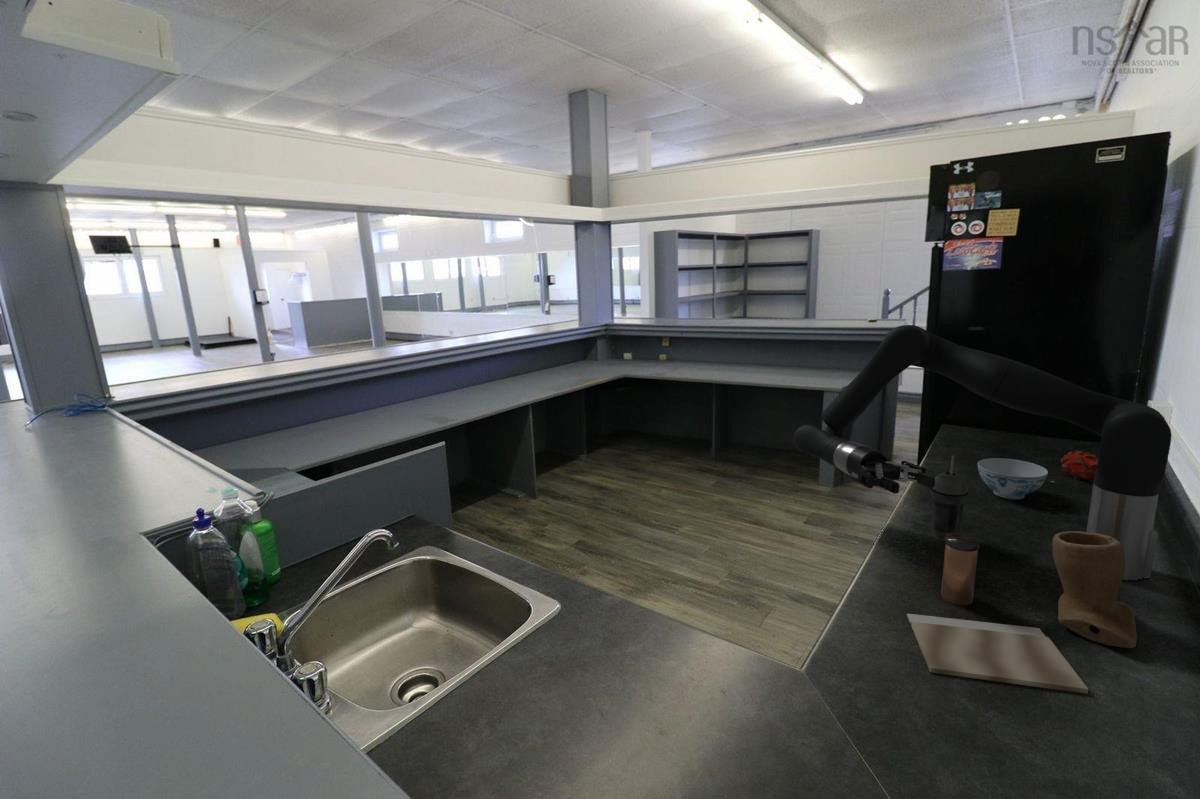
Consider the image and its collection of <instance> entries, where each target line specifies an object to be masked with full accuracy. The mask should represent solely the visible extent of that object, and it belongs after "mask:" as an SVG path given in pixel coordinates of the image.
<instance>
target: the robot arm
mask: <svg viewBox="0 0 1200 799" xmlns="http://www.w3.org/2000/svg"><path fill="white" fill-rule="evenodd" d="M910 366H914V367H917V368H921V369H924V370H927V371H930V372H934V373H937V374H939V375H942V376H944V377H947V378H949V379H950V380H952V381H954V382H956V383H957V384H959V385H960V386H962V387H963V388H966V389H967V390H969V391H971V392H973V393H974V394H976V395H979V396H980V397H983V398H985V399H987V400H989V401H991V402H995V403H998V404H1000V405H1003V406H1005V407H1007V408H1010V409H1014V410H1017V411H1018V412H1019V411H1020V412H1024V413H1027V414H1028V413H1029V414H1033V415H1037V416H1043V417H1048V418H1053V419H1058V420H1062V421H1065V422H1068V423H1070V424H1073V425H1076V426H1078V427H1080V428H1083V429H1085V430H1088V431H1089V432H1091V433H1093V434H1096V435H1097V436H1099V437H1101V439H1100V445H1099V453H1098V457H1099V458H1098V464H1097V468H1096V471H1095V477H1094V479H1093V480H1094V482H1093V485H1092V491H1091V499H1090V505H1089V512H1088V518H1087V527H1086V531H1085V532H1088V533H1098V534H1103V535H1107V536H1111V537H1112V538H1114V539H1116V540H1118V541H1119V542H1120V543H1121V544H1122V546H1123V548H1124V551H1125V574H1124V578H1123V580H1122V581H1128V580H1135V581H1139V580H1138V579H1141V578H1144V579H1146V578H1145V577H1148V578H1150V579H1151V576H1152V571H1153V570H1152V569H1153V565H1154V558H1155V553H1156V548H1157V542H1158V537H1159V534H1158V532H1157V531H1156V530H1154V524H1155V518H1156V510H1157V505H1158V500H1159V495H1160V490H1161V489H1160V488H1161V485H1162V483H1163V481H1164V480H1165V479H1164V478H1165V473H1166V468H1167V464H1168V459H1169V454H1170V450H1171V443H1172V430H1171V427H1170V425H1169V424H1168V422H1167V420H1166V418H1165V416H1164V415H1163V414H1162V413H1160V412H1159V411H1158V410H1156V409H1155V408H1153V407H1151V406H1148V405H1147V404H1142V403H1140V402H1134V401H1131V400H1127V399H1123V398H1118V397H1116V396H1115V397H1114V396H1112V395H1108V394H1104V393H1099V392H1096V391H1093V390H1090V389H1087V388H1084V387H1082V386H1080V385H1077V384H1075V383H1072V382H1071V381H1068V380H1066V379H1064V378H1061V377H1058V376H1056V375H1053V374H1052V373H1049V372H1046V371H1044V370H1041V369H1038V368H1037V367H1034V366H1031V365H1029V364H1025V363H1022V362H1019V361H1016V360H1014V359H1011V358H1007V357H1003V356H1001V355H998V354H994V353H991V352H987V351H983V350H978V349H976V348H975V349H974V348H970V347H966V346H962V345H960V344H957V343H955V342H952V341H949V340H948V339H946V338H943V337H941V336H939V335H937V334H935V333H933V332H930V331H928V330H926V329H924V328H923V327H920V326H919V325H913V324H903V325H899V326H896V327H894V328H892V329H890V330H889V331H888V332H887V333H886V335H885V336H884V339H883V340H882V342H881V343H880V344H879V346H878V347H877V349H876V350H875V352H874V354H873V355H872V356H871V358H870V359H869V361H868V362H867V363H866V365H865V366H864V367H863V369H862V370H861V371H859V373H858V374H857V375H856V376H855V377H854V379H852V381H851V382H850V383H848V384H847V386H846V387H844V389H843V390H842V391H840V393H839V394H838V395H837V396H836V397H835V398H834V399H833V400H832V401H831V402H830V404H828V405H827V406H826V408H825V409H824V410H823V411H822V413H821V419H822V421H823V423H825V425H826V428H824V430H823V429H821V428H819V427H817V426H814V425H812V424H803V425H801V426H799V427H798V428H797V429H796V430H795V431H794V433H793V437H792V440H793V443H794V444H793V445H794V446H795V447H796V448H797V449H798V450H799V451H801V452H804V453H805V454H808V455H810V456H812V457H814V458H817V459H819V460H821V461H822V460H823V461H824V462H825V463H827V464H829V465H830V466H833V467H834V468H837V469H839V470H840V471H842V472H844V473H845V474H846V475H849V476H851V480H853V481H854V482H857V483H858V484H860V485H862V486H864V487H865V488H867V489H873V488H874V487H876V489H884V490H885V491H888V492H890V493H892V494H896V495H897V494H899V493H900V483H899V482H901V483H907V482H914V483H917V484H919V485H921V486H924V487H926V488H929V489H931V488H934V486H935V477H933V476H931V475H929V474H927V473H926V472H927V468H926V467H924V466H920V465H918V464H915V463H913V462H909V461H907V460H901V461H900V462H901V464H900V463H895V462H894V461H889V460H888V459H887V457H886V455H885V454H884V453H883V452H881V451H879V450H878V449H874V448H871V447H870V446H867V445H865V444H862V443H859V442H854V441H851V440H850V439H847V438H844V436H845V434H846V432H847V430H848V429H849V428H850V427H851V426H852V425H853V424H854V423H855V422H856V421H857V419H859V418H860V417H861V415H862V414H863V413H864V412H865V411H866V410H867V409H868V407H870V405H871V404H872V402H874V400H875V399H876V398H877V396H878V395H879V394H880V392H882V390H883V389H884V388H885V387H886V386H887V385H888V384H889V383H890V382H892V381H893V379H894V378H896V377H898V375H900V374H901V373H903V371H905V370H906V369H908V368H909V367H910ZM901 474H903V477H901ZM1141 580H1142V579H1141Z"/></svg>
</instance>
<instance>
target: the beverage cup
mask: <svg viewBox="0 0 1200 799" xmlns="http://www.w3.org/2000/svg"><path fill="white" fill-rule="evenodd" d="M955 456H956V455H951V462H950V463H951V464H950V470H949V471H944V472H941V473H939V474H937V476H935V477H934V478H935V486H934V488H930V494H931V498H932V532H933V538H934V537H935V538H934V539H936V540H938V541H940V540H941V542H944V541H945V538H946V534H947V533H950V532H960V531H959V530H960V526H961V523H962V518H963V513H964V508H965V503H966V502H967V501H966V500H967V498H968V495H969V487H968V484H967V482H966V480H965V478H964V477H963V476H961V475H960V474H958V473H957V472H954V464H955Z"/></svg>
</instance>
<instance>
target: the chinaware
mask: <svg viewBox="0 0 1200 799" xmlns="http://www.w3.org/2000/svg"><path fill="white" fill-rule="evenodd" d="M977 470H978V472H979V476H980V478H981V479H982V482H984V484H985V485H986V486H988V488H990V489H991V490H992V491H993V494H994V495H996V496H997V497H1000V498H1002V499H1003V498H1004V499H1008V500H1023V499H1024V498H1025V496H1026V495H1029V494H1032V493H1033V492H1035V491H1037V490H1038V489H1039V488H1041V487H1042V485H1043V484H1044V482H1045V481H1046V479H1047V477H1048V474H1049V471H1048V469H1047V468H1045V467H1043V466H1042V465H1038V464H1037V463H1033V462H1029V461H1025V460H1019V459H1012V458H999V457H993V458H983V459H981V460H979V461H978V462H977Z"/></svg>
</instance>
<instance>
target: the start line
mask: <svg viewBox="0 0 1200 799" xmlns="http://www.w3.org/2000/svg"><path fill="white" fill-rule="evenodd" d="M906 617H907V618H908V621H909V623H910V624H911V623H912V622H920V623H928V624H937V625H946V626H954V627H963V628H972V629H981V630H989V631H998V632H1007V633H1015V634H1024V635H1033V636H1042V637H1046V635H1045V634H1044V632H1042V630H1041V629H1040V627H1039V628H1038V627H1031V626H1022V625H1012V624H1005V623H1004V624H1003V623H997V622H996V623H994V622H986V621H977V620H967V619H960V618H951V617H950V618H949V617H942V616H941V617H940V616H934V615H933V616H931V615H923V614H916V613H915V614H914V613H906Z"/></svg>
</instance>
